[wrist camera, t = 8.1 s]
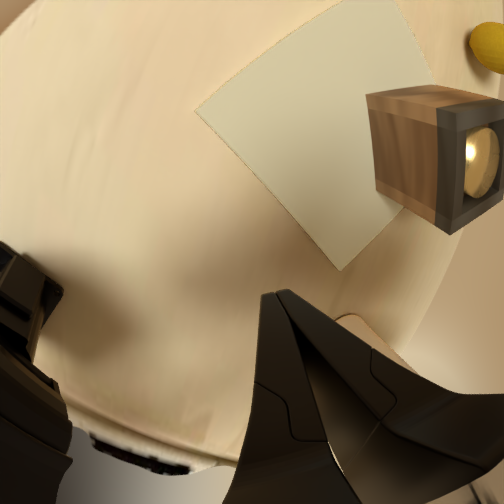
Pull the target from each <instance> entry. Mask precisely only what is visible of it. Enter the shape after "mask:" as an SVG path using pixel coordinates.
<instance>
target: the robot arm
mask: <svg viewBox="0 0 504 504" xmlns="http://www.w3.org/2000/svg"><path fill="white" fill-rule="evenodd" d="M55 291H58V292H59V293H56V292H55ZM63 293H64V289H63V288H62V287H61V286H60V285H59V284H57V283H56V282H54V281H53V280H51V279H50V278H48V277H47V276H45V275H44V274H43V273H41V272H40V271H39V270H37V269H36V268H34V267H33V266H32V265H30V264H29V263H27V262H26V261H25V260H23V259H22V258H21V257H19V256H17V255H16V254H15V253H14V252H12V251H11V250H10V249H8V248H7V247H6V246H4V245H3V244H2V243H0V504H55V503H56V497H57V492H58V488H59V484H60V482H61V480H62V477H63V475H64V473H65V472H66V470H67V469H68V468H69V467H70V465H71V464H72V462H73V459H72V458H71V457H69V456H67V452H68V450H69V446H70V442H71V438H72V429H73V426H72V422H71V421H70V420H68V414H67V408H66V404H65V402H64V400H63V399H62V397H61V394H60V390H59V386H58V383H57V382H56V381H55V380H53V379H52V378H49V377H48V376H46V375H45V374H44V373H43V372H42V371H40V370H39V369H38V368H37V367H36V366H34V365H33V362H34V357H35V352H36V347H37V343H38V338H39V334H40V330H41V329H42V327H43V325H44V324H45V322H46V321H47V319H48V318H49V316H50V315H51V313H52V312H53V310H54V309H55V307H56V306H57V304H58V303H59V301H60V300H61V298H62V296H63ZM328 442H329V443H328ZM329 444H330V446H331V448H332V450H333V452H334V454H335V456H336V458H337V460H338V462H339V465H340V466H341V469H342V470H343V472H342V471H341V469H340V468H339V466H338V465H337V463H336V461H335V459H334V457H333V454H332V451H331V449H330V446H329ZM343 473H344V474H343ZM344 475H345V476H344ZM222 504H504V394H460V393H455V392H452V391H449V390H447V389H445V388H443V387H440V386H439V385H437V384H435V383H433V382H431V381H429V380H427V379H425V378H423V377H421V376H419V375H418V374H416V373H414V372H412V371H410V370H408V369H407V368H405V367H403V366H401V365H399V364H398V363H396V362H394V361H393V360H391V359H390V358H388V357H387V356H385V355H384V354H382V353H381V352H379V351H378V350H376V349H375V348H372V346H370V345H369V344H367V343H366V342H364V341H363V340H362V339H360V338H359V337H357V336H356V335H354V334H353V333H351V332H350V331H348V330H347V329H346V328H344V327H343V326H341V325H340V324H338V323H337V322H335V321H334V320H333V319H331V318H330V317H328V316H327V315H325V314H324V313H322V312H321V311H320V310H318V309H317V308H315V307H314V306H312V305H311V304H310V303H308V302H307V301H305V300H304V299H302V298H301V297H299V296H298V295H297V294H295V293H294V292H292V291H291V290H289V289H283V290H279V291H276V292H275V293H274V292H270V293H265V294H262V295H261V301H260V314H259V327H258V340H257V352H256V365H255V377H254V387H253V398H252V406H251V413H250V417H249V422H248V426H247V431H246V434H245V438H244V442H243V446H242V449H241V453H240V457H239V460H238V464H237V468H236V471H235V474H234V478H233V480H232V483H231V486H230V488H229V490H228V493H227V495H226V497H225V498H224V500H223V502H222Z"/></svg>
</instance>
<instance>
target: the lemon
mask: <svg viewBox="0 0 504 504" xmlns="http://www.w3.org/2000/svg"><path fill="white" fill-rule="evenodd" d="M469 46H470V47H471V48H472V51H473V53H474V55H475V56H476V58H477V59H478V60H479V62H480V63H481V64H482V65H484V66H485V67H486V68H488V69H490V70H491V71H494V72H496V73H499V74H504V24H500V23H495V22H485V23H482V24H479V25H478V26H476V27H475V28H474V30H473V31H472V33H471V38H470V41H469Z"/></svg>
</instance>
